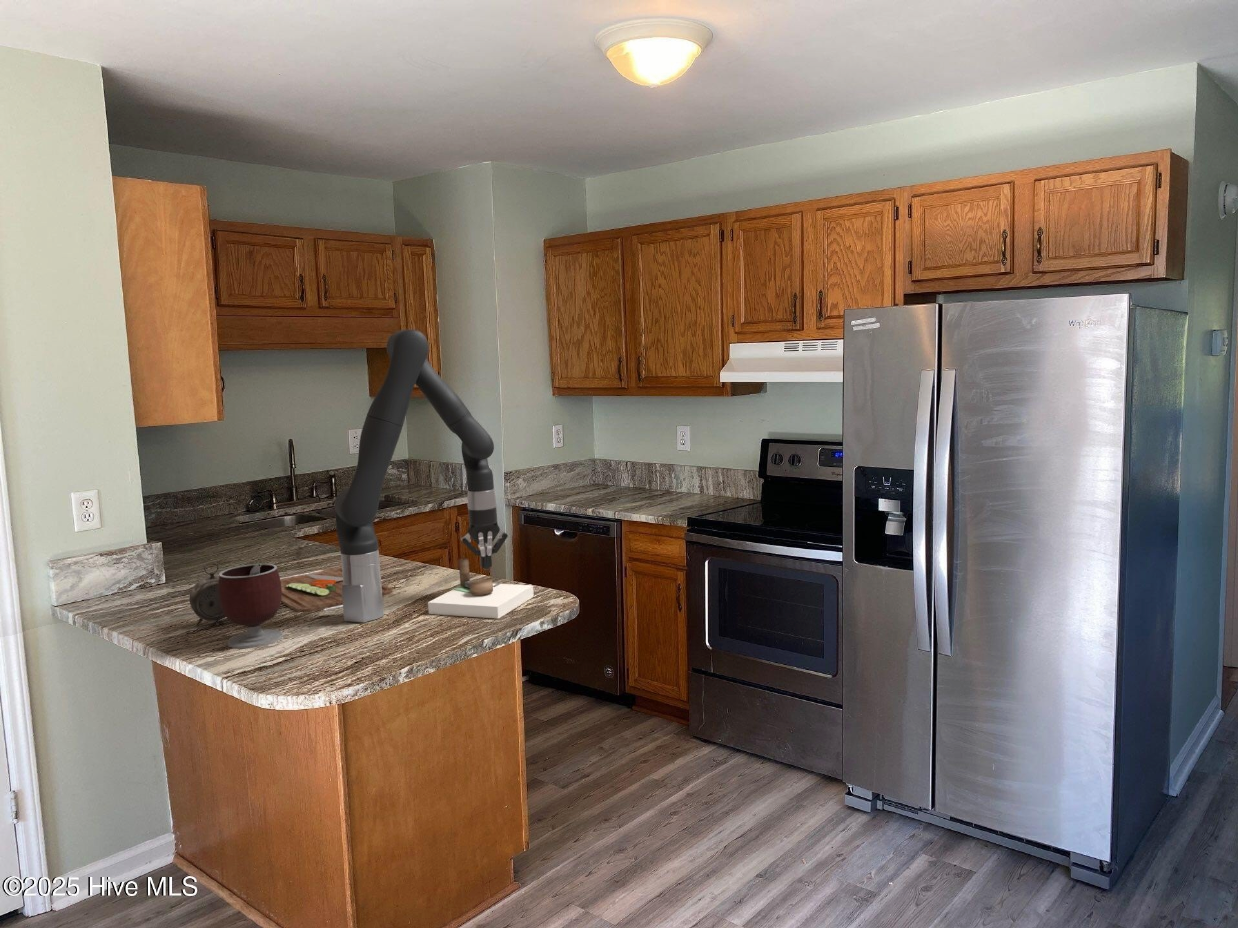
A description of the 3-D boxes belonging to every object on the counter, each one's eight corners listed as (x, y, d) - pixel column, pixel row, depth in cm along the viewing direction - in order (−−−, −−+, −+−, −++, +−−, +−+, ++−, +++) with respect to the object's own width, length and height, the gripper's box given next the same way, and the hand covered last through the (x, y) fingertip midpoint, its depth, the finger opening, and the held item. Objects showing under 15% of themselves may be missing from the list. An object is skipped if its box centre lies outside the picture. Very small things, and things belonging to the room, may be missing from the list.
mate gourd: (216, 640, 218) (207, 559, 215) (274, 627, 227) (266, 548, 224) (237, 655, 206) (227, 569, 203) (297, 640, 215) (289, 558, 212)
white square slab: (498, 618, 225) (497, 605, 224) (428, 613, 232) (427, 601, 231) (533, 596, 243) (532, 584, 243) (468, 592, 250) (467, 580, 250)
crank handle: (497, 591, 236) (495, 564, 235) (476, 595, 233) (474, 569, 232) (473, 582, 247) (471, 556, 246) (453, 586, 243) (451, 560, 242)
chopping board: (251, 586, 271) (250, 576, 271) (338, 569, 287) (337, 560, 287) (304, 617, 236) (302, 606, 235) (399, 596, 252) (399, 585, 252)
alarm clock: (237, 616, 237) (231, 556, 235) (241, 621, 233) (235, 560, 231) (192, 625, 231) (185, 563, 229) (195, 630, 227) (188, 567, 225)
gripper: (459, 511, 238) (464, 575, 240) (508, 505, 242) (513, 569, 244) (455, 506, 245) (460, 569, 248) (503, 501, 249) (508, 563, 251)
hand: (486, 568), depth 246 cm, fingers closed
